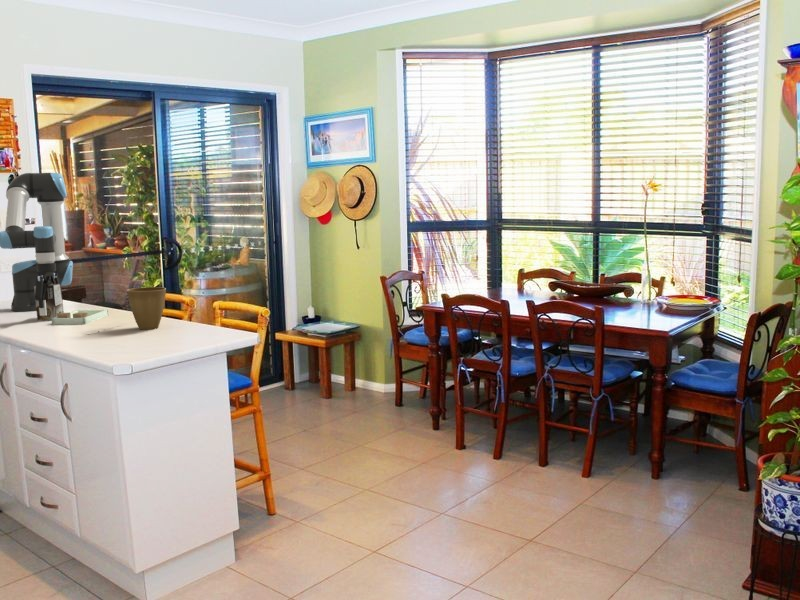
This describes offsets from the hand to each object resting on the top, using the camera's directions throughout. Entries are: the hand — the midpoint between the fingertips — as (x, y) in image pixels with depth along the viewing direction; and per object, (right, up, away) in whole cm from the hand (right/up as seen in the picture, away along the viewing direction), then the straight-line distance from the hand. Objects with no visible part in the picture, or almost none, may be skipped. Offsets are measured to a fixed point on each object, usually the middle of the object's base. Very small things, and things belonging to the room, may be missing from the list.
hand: (50, 313), depth 327 cm
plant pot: (+50, -6, -21) cm, 55 cm away
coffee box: (0, -4, +1) cm, 4 cm away
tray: (+15, -4, -3) cm, 16 cm away
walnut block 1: (+11, -4, -11) cm, 16 cm away
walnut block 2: (+18, -4, -11) cm, 21 cm away
